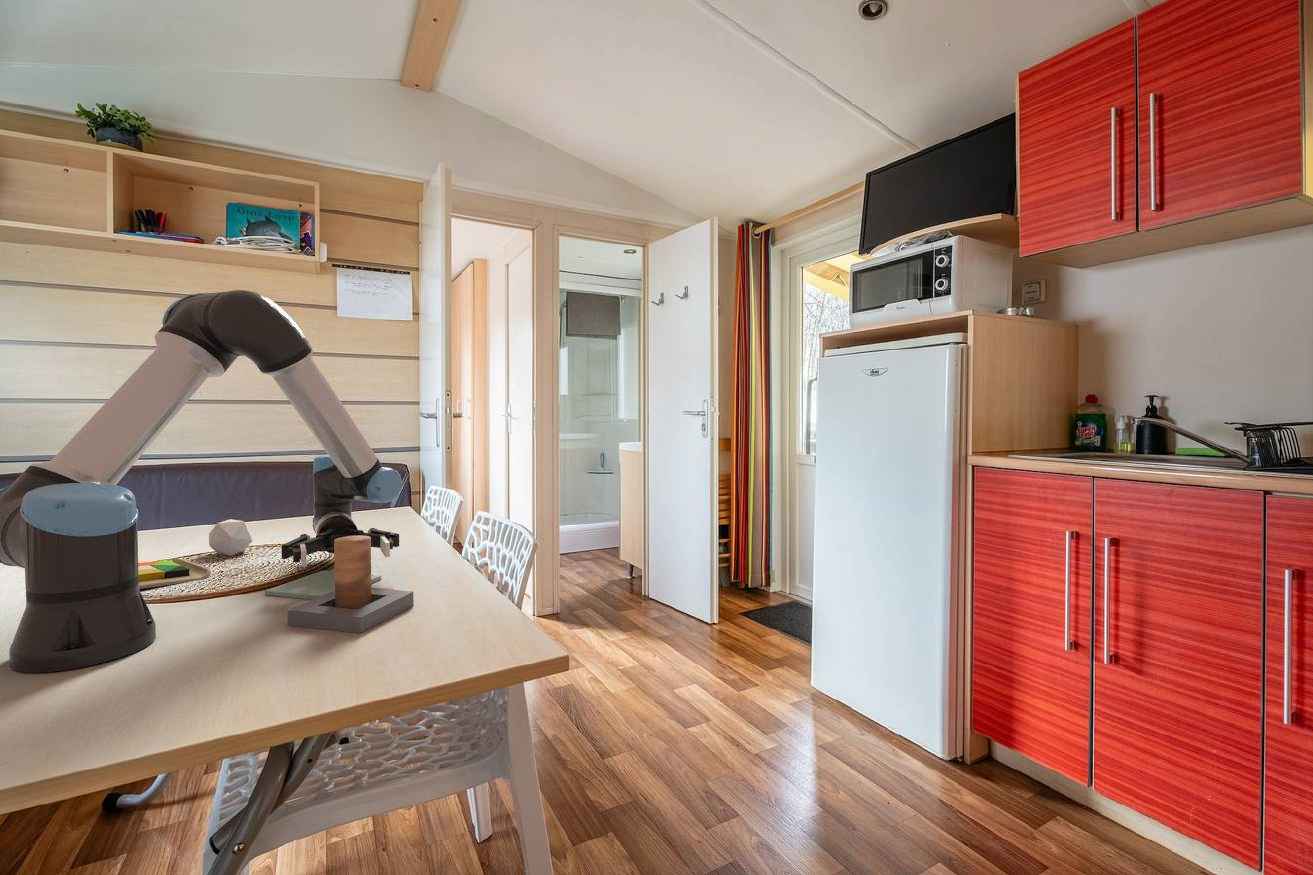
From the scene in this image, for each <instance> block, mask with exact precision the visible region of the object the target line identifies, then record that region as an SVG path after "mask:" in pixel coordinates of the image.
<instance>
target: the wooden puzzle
mask: <svg viewBox="0 0 1313 875" xmlns="http://www.w3.org/2000/svg"><path fill="white" fill-rule="evenodd" d="M211 574H212V570H211V568H209V567H207V566H203V565H202V564H197V563H195V562H193V561H189V560H187V559H184V558H180V557H177V558H175V559H174V560H173V561H170V560H168V559H164V560H161V559H160V560H153V561H143V562H138V575H139V590H142V589H149V588H157V587H159V588H160V587H164V586H165V587H166V585H167V586H172V585H173V584H174V585H179V583H180V584H185V583H189V581H190V582H194V580H195V581H198V580H199V581H200V580H205V579H208V578H209V577H210V576H211ZM204 578H205V579H204ZM184 582H185V583H184Z"/></svg>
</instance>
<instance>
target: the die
mask: <svg viewBox="0 0 1313 875" xmlns="http://www.w3.org/2000/svg"><path fill="white" fill-rule="evenodd" d="M252 542H253V533H252V529H251V528H250V527H249V526H248V524H247V523H246V521H243V520H238V519H226V520H223V521H221V522H217V523H216V524H215V526H213V528H212V529H211V531H210V532H209V533H208V546H209V547H210V548H211V549H212V550H213V551H214V552H216V553H217V555H223V556H228V557H233V556H235V555H237V554H240V553H242V552H245V550H246V549H247V548H248V547H249V546H250V544H251V543H252Z"/></svg>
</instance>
